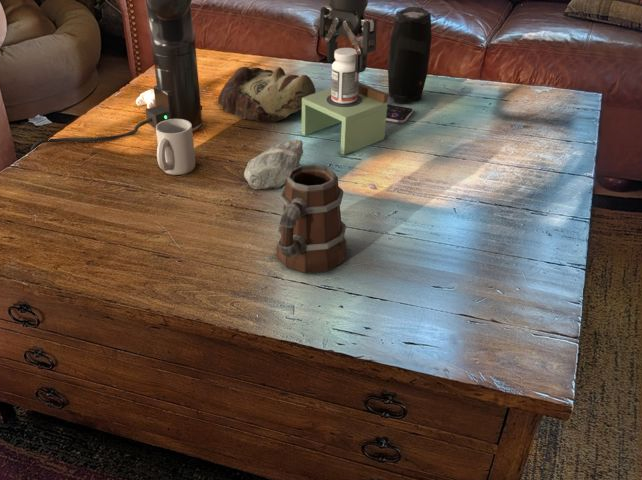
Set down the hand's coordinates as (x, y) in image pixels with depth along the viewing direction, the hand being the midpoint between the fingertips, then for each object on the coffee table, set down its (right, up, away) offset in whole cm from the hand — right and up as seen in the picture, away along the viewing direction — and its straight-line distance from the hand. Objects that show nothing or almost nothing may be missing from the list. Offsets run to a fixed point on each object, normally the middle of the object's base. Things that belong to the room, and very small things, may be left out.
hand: (345, 66), depth 151 cm
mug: (-9, -44, -26) cm, 52 cm away
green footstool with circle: (0, -11, +10) cm, 15 cm away
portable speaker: (+17, +3, +26) cm, 31 cm away
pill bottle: (0, -5, +5) cm, 7 cm away
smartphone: (+10, -3, +19) cm, 22 cm away
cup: (-35, -22, 0) cm, 42 cm away
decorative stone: (-15, -24, -3) cm, 28 cm away
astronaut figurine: (-43, +3, +28) cm, 52 cm away
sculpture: (-16, +1, +25) cm, 29 cm away
